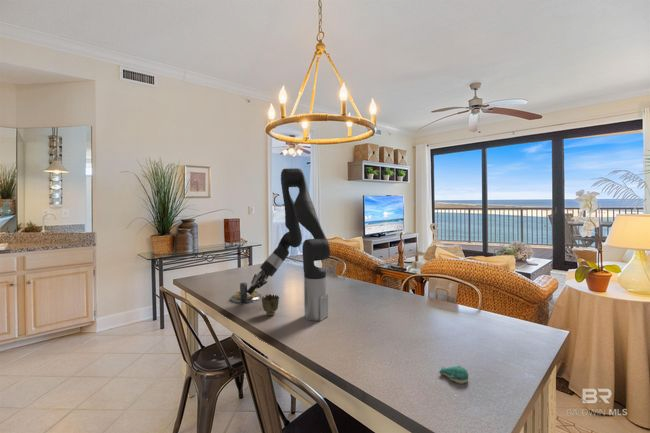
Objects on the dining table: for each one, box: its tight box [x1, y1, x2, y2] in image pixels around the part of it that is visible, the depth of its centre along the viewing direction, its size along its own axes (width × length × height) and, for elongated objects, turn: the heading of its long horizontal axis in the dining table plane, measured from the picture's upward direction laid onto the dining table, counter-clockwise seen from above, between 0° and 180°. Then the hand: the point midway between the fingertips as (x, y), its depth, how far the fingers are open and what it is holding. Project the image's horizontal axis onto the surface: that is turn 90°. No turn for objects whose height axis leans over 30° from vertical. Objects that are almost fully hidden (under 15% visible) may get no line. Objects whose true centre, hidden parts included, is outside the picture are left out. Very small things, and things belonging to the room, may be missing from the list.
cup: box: [261, 293, 280, 317], centre depth 134 cm, size 8×7×8 cm
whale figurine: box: [438, 365, 469, 385], centre depth 85 cm, size 6×7×4 cm
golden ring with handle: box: [233, 282, 259, 304], centre depth 153 cm, size 17×12×9 cm
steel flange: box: [230, 292, 262, 304], centre depth 157 cm, size 15×15×3 cm
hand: (248, 293), depth 147 cm, fingers closed
